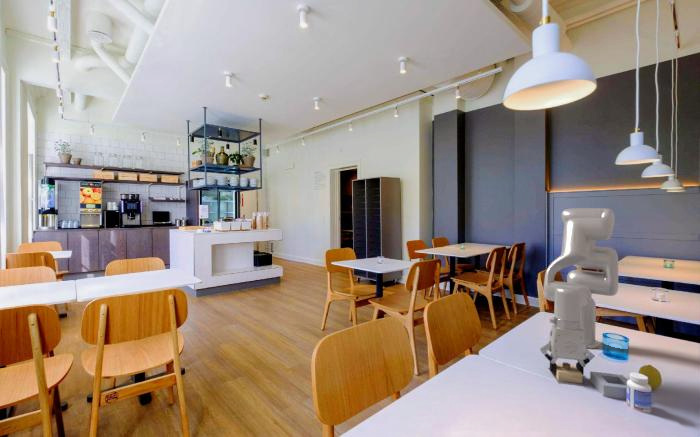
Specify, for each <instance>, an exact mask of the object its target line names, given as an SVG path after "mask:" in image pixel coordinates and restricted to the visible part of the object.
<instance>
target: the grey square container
mask: <svg viewBox="0 0 700 437" xmlns="http://www.w3.org/2000/svg"><path fill="white" fill-rule="evenodd" d="M589 373H590V374H589V375H590V378H589V382H590V383H591V385H592V386H593V387H594V388H595V389H596V390H597V391H598V392H599V393H600V394H601V395H602V397H603V398H604V397H605V398H613V399H620V400H627V381H628V380H629V379H628V378H627V377H625V376H624V374H617V373H609V372H599V371H590V372H589Z"/></svg>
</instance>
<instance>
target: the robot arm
mask: <svg viewBox="0 0 700 437" xmlns="http://www.w3.org/2000/svg"><path fill="white" fill-rule="evenodd" d="M560 217H561V222H562V224H563V226H564V227H563V234H562V241H561V242H562V244H561V253H560V255H559V256H558V257H557V258H555V259H554V260H553V261H552V262H550V264H549V265H548V267H547V269H546V270H545V273H544V280H543V291H542V293H543V296H544V297H545V299H546V300H548V301H549V302H554V303H553V304H554V305H553V306H554V309H553V310H554V315H553V318H549V323H550V324H552V325H551V327H550V333H549V337H548V338H549V340H548V343H547V344H545V345H543V346H542V347H540V348H539V351H540V352H541V353H542V355H544V357H545V359H547V360H548V361H549V368H550V370H549V372H550V371H551V372H552V373H553V374H552V373H551V372H550V373H551V374H552V376H553V375H556V369H557V365H556V363H557V360H558V359H565V360H574V361H577V362H576V363H575V366H576V368H577V369H578V370H579V371H580V372H581V373H582V374H583V376H584V372H585V371H584V368H585V367H586V365H588V364H589V363H590V362H591V360H593V359H595V357H596V356H595V354H594V353H593V352H591V351H590V350H589V349H599V347H600V346H601V345H600V344H601V343H600V342H599V341H598V340H596V327H597V326H596V325H597V324H596V322H597V321H596V320H597V319H596V318H597V317H596V315H597V306H596V302H595V300H594V299H593V297H592V295H600V296H604V297H605V296H607V297H613V296H615V295H617V293H618V292H619V291H618V290H619V255H618V253H617V251H616V249H614V248H612V247H607V246H596V241H603V242H604V241H606V242H607V241H608V240H610V239H611V237H612V234H613V230H614V226H615V219H616V217H615V213H614V211H613V210H612V209H610V208H605V207H604V208H603V207H601V208H599V207H594V208H593V207H591V208H589V207H580V208H579V207H575V208H574V207H572V208H571V207H570V208H567V209H564V210H562V212H561V216H560ZM570 266H574V267H576V268H579V269H573V270H571V271H569V272H568V273H567V275H566V282H565V281H557V280H555V276H556V274H557V272H559V271H560V270H562V269H564V268H567V267H570ZM580 268H581V269H580ZM584 269H585V270H584ZM586 269H589V270H586ZM590 269H591V270H590ZM594 270H599V271H594ZM548 351H549V352H551V353H550V354H549V353H548Z"/></svg>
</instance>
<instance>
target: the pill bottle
mask: <svg viewBox="0 0 700 437" xmlns="http://www.w3.org/2000/svg"><path fill="white" fill-rule="evenodd" d="M627 380H628V381H627V399H625V400H626V406H627V407H629V408H630V409H632V410H635V411H637V412H640V413H647V414H648V413H651V412H652V390H653V389H651V386H650V385H649V384H648V377H647V376H645V375H643V374H639V372H630V373H629V379H627Z"/></svg>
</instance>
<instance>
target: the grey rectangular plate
mask: <svg viewBox="0 0 700 437" xmlns="http://www.w3.org/2000/svg"><path fill="white" fill-rule="evenodd" d="M547 368H548V370H549V372H550V373H551V375H552V376H553V377H554V379H555V380H556V381H557V383H558V384H561V385H562V384H563V385H570V386H578V387H584V388H585V387H587V385H586V384H585V383H584V382H583V381H582V383H576V382H568V381H559V380H558V379H557V378H556V376H555V375H553V373H552V372H551V371H550V367H547Z"/></svg>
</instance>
